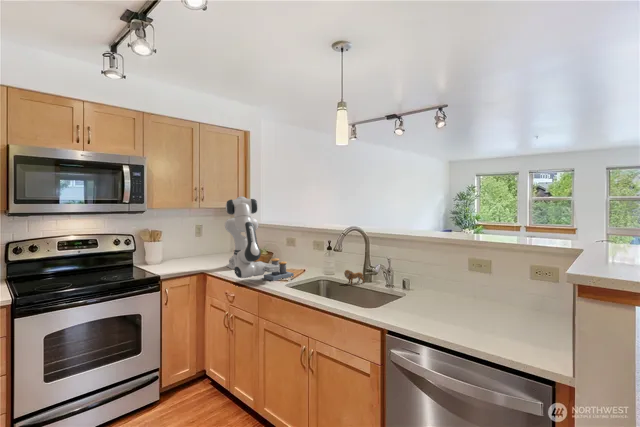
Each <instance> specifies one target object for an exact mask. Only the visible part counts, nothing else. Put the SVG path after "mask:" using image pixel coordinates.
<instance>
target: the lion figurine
mask: <svg viewBox="0 0 640 427" xmlns="http://www.w3.org/2000/svg"><path fill="white" fill-rule="evenodd" d="M344 277H345V278H346V279H347V280H348V282H347V283H348V284H350V285H353V280H355V279H358V280H357V281H356V283H359V282H360V281H361V280H362V284H365V282H366V280H365V276H364V274H363V273H362V272H361V271H360V272H359V271H358V272H353V271H352V270H349V269H346V270H344Z"/></svg>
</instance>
